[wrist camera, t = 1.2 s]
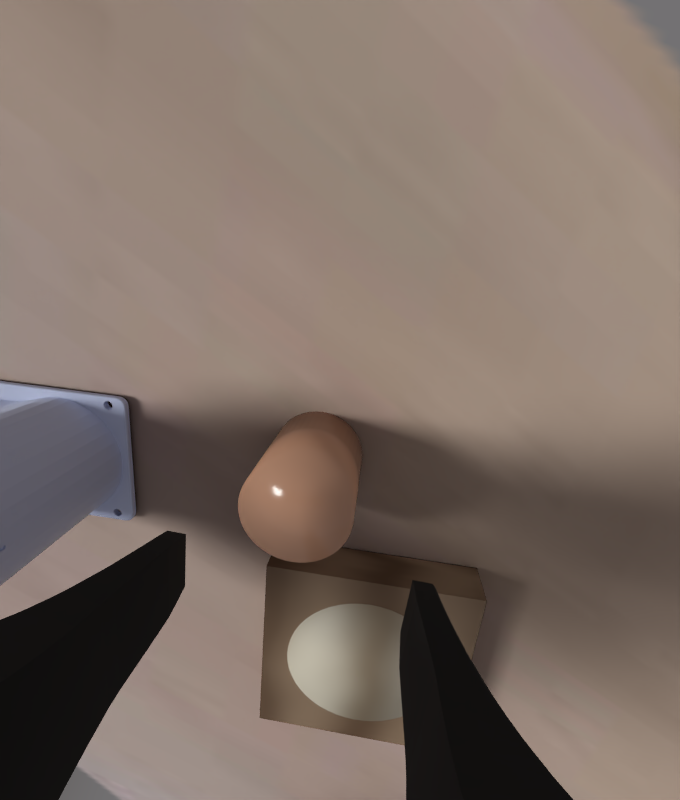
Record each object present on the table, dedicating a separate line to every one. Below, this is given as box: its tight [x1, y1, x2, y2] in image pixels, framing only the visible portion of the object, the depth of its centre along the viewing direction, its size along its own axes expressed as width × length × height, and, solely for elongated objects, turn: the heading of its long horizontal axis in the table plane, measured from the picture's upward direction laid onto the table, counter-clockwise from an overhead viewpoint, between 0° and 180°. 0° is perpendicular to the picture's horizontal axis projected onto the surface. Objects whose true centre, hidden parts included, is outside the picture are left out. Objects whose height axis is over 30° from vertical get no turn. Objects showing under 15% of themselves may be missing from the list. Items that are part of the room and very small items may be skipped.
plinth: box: [260, 548, 487, 745], centre depth 25 cm, size 12×12×2 cm
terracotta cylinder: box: [238, 412, 362, 563], centre depth 20 cm, size 5×5×6 cm
